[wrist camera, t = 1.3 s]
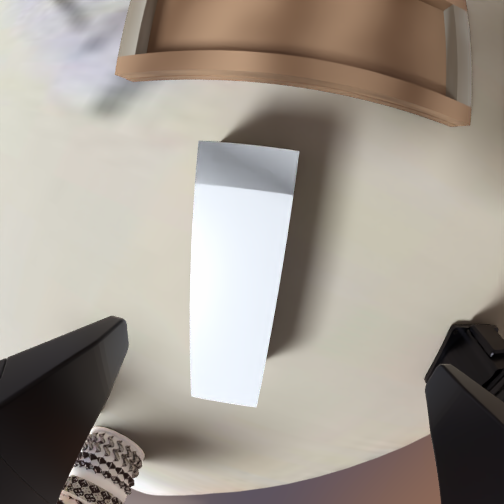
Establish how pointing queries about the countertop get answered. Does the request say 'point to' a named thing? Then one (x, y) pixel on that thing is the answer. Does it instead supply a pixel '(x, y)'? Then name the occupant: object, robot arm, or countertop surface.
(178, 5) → the wooden tray
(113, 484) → the decorative candle
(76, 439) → the robot arm
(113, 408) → the countertop surface
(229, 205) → the white tall block
